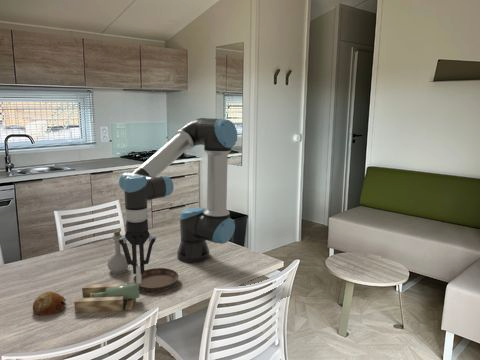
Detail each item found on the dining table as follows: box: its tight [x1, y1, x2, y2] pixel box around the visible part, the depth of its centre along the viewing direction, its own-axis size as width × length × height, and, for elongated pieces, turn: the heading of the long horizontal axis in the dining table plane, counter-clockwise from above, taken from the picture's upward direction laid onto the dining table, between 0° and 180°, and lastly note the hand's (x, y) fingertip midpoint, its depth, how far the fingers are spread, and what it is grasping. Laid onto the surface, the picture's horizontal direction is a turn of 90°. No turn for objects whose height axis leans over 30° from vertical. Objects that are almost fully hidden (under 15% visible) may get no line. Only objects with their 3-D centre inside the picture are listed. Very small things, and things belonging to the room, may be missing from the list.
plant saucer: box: [132, 267, 180, 292], centre depth 164 cm, size 18×18×3 cm
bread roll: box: [32, 290, 67, 317], centre depth 143 cm, size 10×10×8 cm
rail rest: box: [73, 282, 136, 314], centre depth 148 cm, size 19×13×4 cm
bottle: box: [90, 283, 140, 301], centre depth 148 cm, size 5×5×17 cm
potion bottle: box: [107, 230, 129, 275], centre depth 174 cm, size 9×9×18 cm
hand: (139, 281), depth 148 cm, fingers closed
